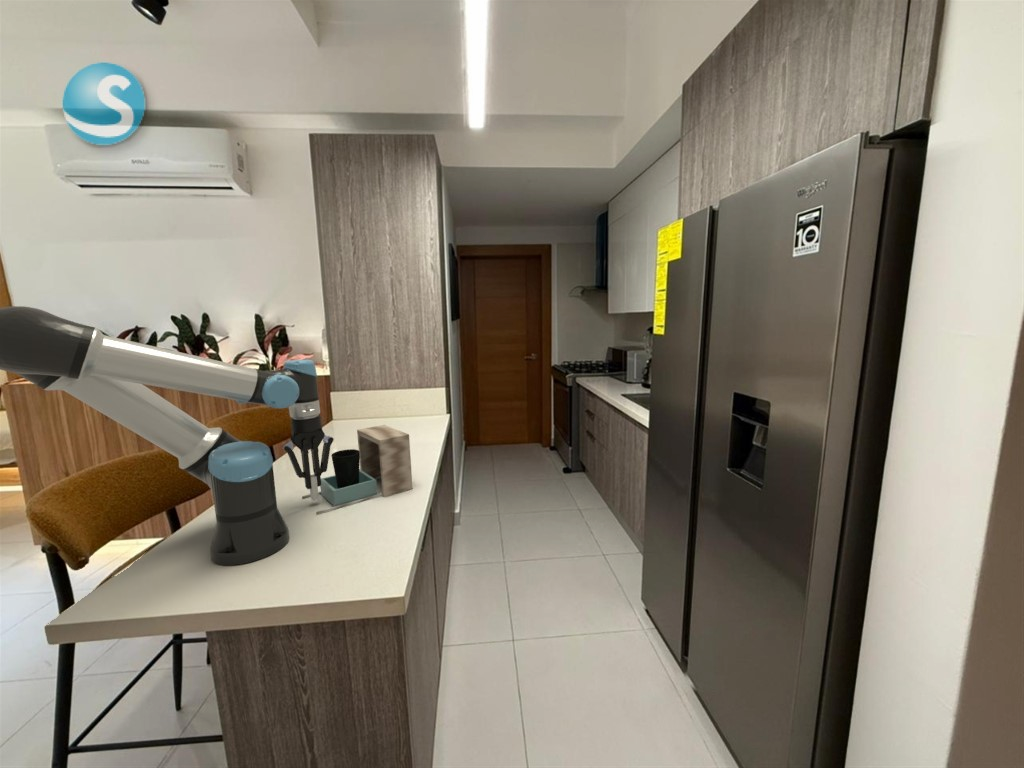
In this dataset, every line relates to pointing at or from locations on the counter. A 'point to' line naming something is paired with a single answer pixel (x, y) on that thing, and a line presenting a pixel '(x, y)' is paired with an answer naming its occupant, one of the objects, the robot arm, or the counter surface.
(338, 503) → the tray
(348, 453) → the cup
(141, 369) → the robot arm
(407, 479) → the sliding drawer cabinet
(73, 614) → the counter surface
